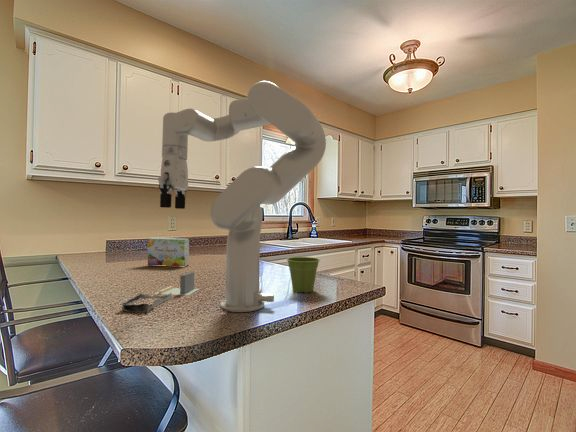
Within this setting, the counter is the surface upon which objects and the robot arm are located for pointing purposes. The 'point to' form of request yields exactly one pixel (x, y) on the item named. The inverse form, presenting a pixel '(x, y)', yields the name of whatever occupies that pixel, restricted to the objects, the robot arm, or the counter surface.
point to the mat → (173, 291)
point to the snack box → (168, 251)
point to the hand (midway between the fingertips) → (173, 208)
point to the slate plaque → (186, 282)
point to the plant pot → (303, 273)
